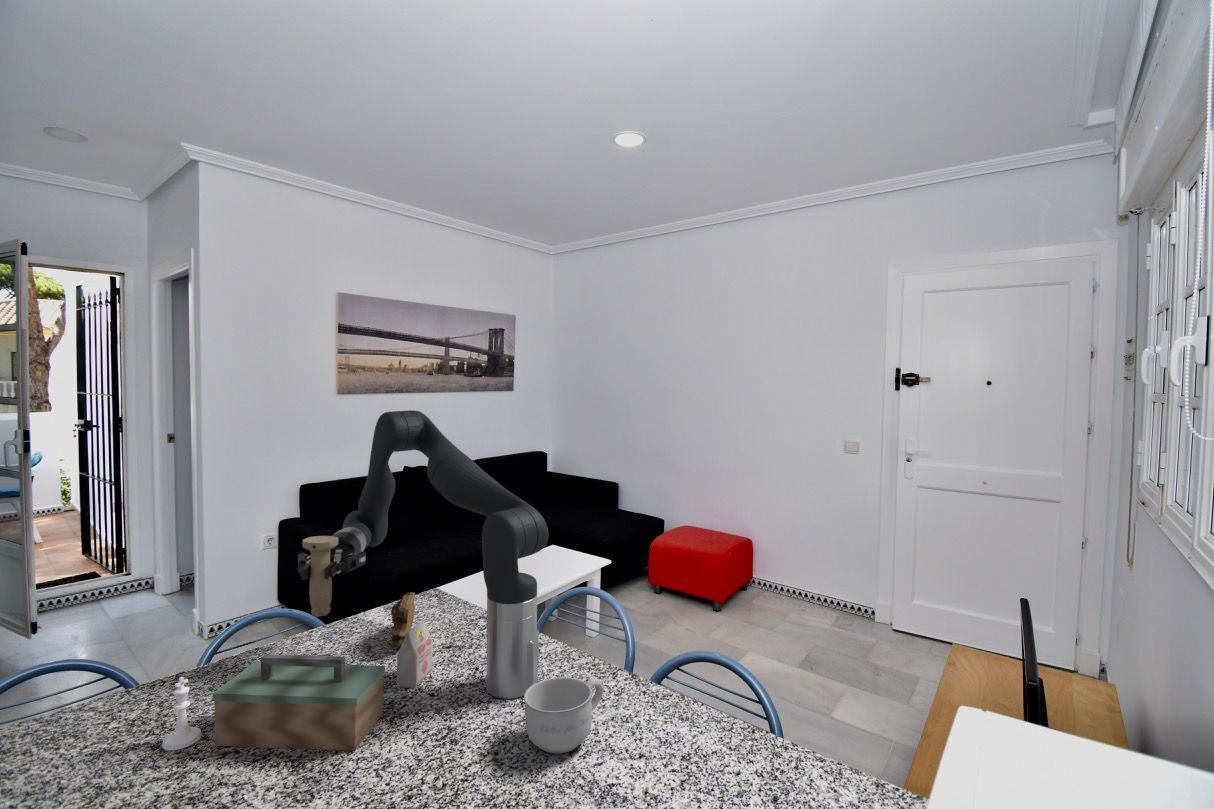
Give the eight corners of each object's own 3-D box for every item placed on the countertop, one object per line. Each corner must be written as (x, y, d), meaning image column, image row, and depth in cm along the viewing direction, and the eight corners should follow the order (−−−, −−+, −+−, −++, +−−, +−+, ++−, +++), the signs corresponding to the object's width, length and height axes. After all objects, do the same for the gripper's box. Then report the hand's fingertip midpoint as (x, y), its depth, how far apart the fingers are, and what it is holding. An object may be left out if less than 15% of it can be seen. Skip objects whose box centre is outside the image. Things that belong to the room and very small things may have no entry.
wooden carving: (395, 626, 131) (395, 584, 131) (415, 624, 132) (416, 582, 132) (387, 660, 115) (387, 611, 115) (411, 657, 117) (411, 609, 116)
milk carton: (397, 685, 106) (397, 632, 105) (414, 668, 112) (415, 618, 112) (415, 687, 105) (415, 634, 105) (432, 669, 112) (432, 619, 111)
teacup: (537, 772, 83) (538, 718, 82) (514, 731, 92) (514, 683, 92) (621, 745, 89) (622, 695, 89) (591, 709, 99) (591, 664, 98)
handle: (330, 619, 110) (330, 543, 109) (297, 618, 110) (297, 542, 109) (342, 609, 114) (342, 536, 114) (311, 608, 115) (311, 535, 114)
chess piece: (209, 734, 90) (208, 672, 90) (176, 753, 85) (175, 688, 85) (187, 728, 92) (186, 667, 91) (154, 746, 87) (153, 682, 87)
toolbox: (403, 688, 105) (403, 625, 104) (357, 750, 87) (357, 675, 86) (283, 684, 105) (283, 621, 105) (213, 745, 87) (212, 670, 87)
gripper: (310, 531, 125) (275, 556, 108) (377, 530, 127) (354, 554, 110) (310, 565, 125) (276, 595, 108) (377, 563, 127) (354, 592, 110)
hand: (315, 574), depth 109 cm, fingers closed on handle, 3 cm apart
